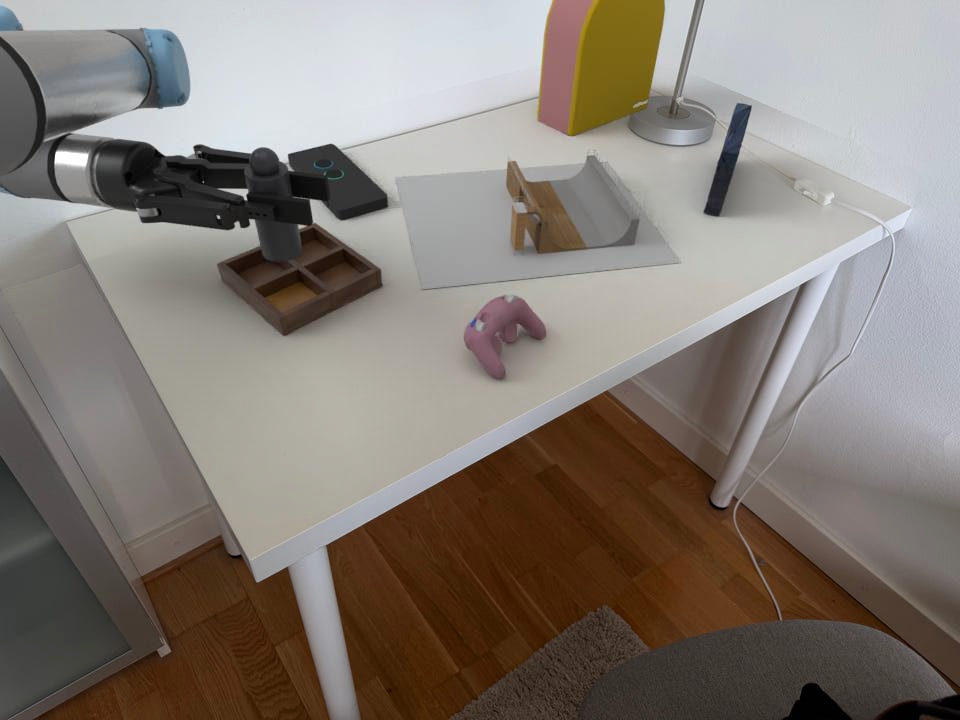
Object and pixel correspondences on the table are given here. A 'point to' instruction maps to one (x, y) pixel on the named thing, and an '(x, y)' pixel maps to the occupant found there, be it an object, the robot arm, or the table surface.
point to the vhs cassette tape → (728, 159)
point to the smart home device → (340, 181)
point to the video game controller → (500, 330)
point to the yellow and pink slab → (597, 61)
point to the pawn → (273, 179)
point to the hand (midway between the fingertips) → (318, 200)
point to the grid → (301, 280)
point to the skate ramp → (526, 224)
